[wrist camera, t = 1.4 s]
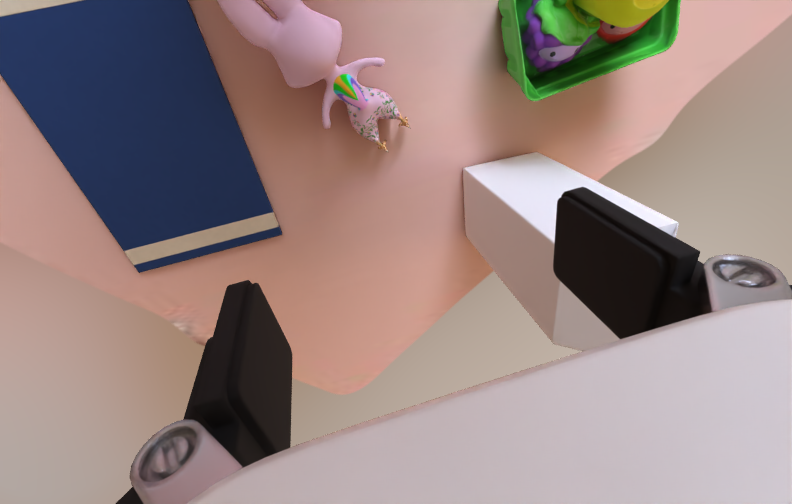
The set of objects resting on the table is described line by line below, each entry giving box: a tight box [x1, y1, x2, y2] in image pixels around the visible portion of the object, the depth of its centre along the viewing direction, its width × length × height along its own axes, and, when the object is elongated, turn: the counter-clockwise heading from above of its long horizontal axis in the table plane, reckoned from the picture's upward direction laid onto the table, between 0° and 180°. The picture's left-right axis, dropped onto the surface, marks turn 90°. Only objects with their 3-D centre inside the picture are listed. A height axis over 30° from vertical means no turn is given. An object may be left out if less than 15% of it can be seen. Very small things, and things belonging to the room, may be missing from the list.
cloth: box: [0, 0, 282, 273], centre depth 26 cm, size 20×12×1 cm, turn 11°
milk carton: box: [463, 152, 679, 351], centre depth 27 cm, size 7×7×19 cm
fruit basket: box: [498, 0, 681, 101], centre depth 23 cm, size 11×9×11 cm
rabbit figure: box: [217, 0, 411, 152], centre depth 24 cm, size 6×6×15 cm
